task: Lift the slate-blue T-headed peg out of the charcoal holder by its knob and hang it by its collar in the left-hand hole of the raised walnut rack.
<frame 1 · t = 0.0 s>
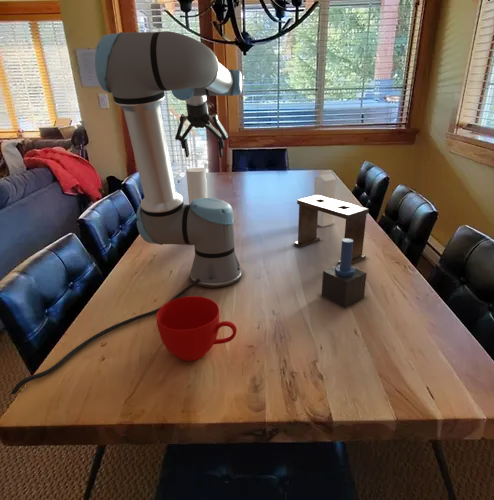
hand: (204, 155, 148), 28 cm above the table, tool tilted 20°, fingers open, 13 cm apart
cylindrical container: (200, 233, 147), on the table
milk: (322, 224, 156), on the table
rack: (328, 251, 129), on the table
holder: (342, 296, 101), on the table
ceramic cup: (200, 353, 81), on the table
peg: (344, 272, 98), point 7 cm above the table, touching holder
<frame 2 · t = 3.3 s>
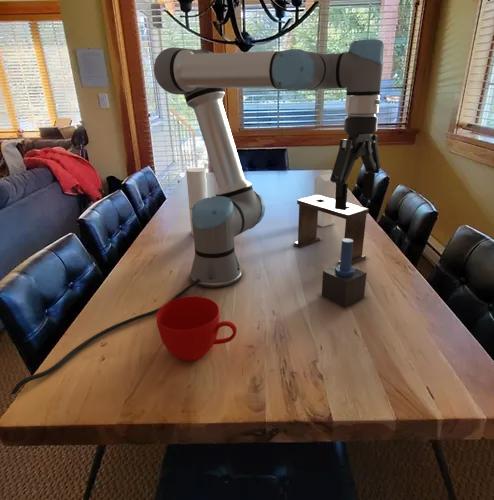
hand: (354, 203, 96), 25 cm above the table, tool pointing down, fingers open, 13 cm apart
nothing on the table moved.
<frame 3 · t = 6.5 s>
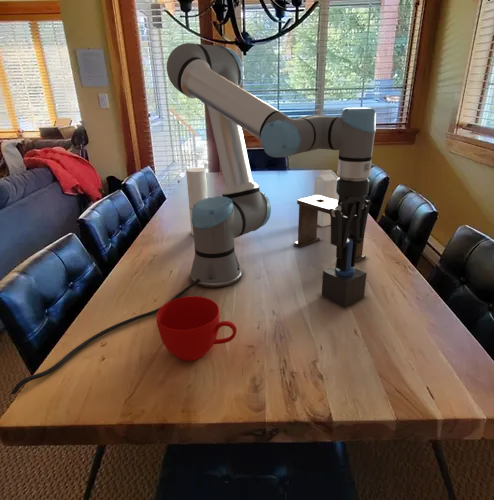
hand: (345, 266, 98), 9 cm above the table, tool pointing down, fingers closed on peg, 3 cm apart
peg: (344, 272, 98), point 8 cm above the table, touching gripper
everything else where it was.
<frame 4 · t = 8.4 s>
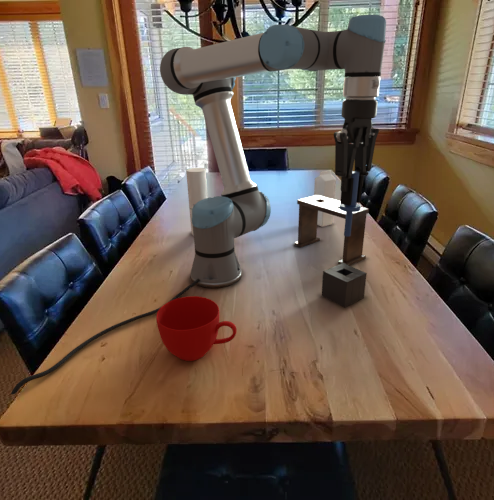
hand: (350, 202, 91), 26 cm above the table, tool pointing down, fingers closed on peg, 3 cm apart
peg: (349, 208, 91), point 25 cm above the table, touching gripper
everything else where it was.
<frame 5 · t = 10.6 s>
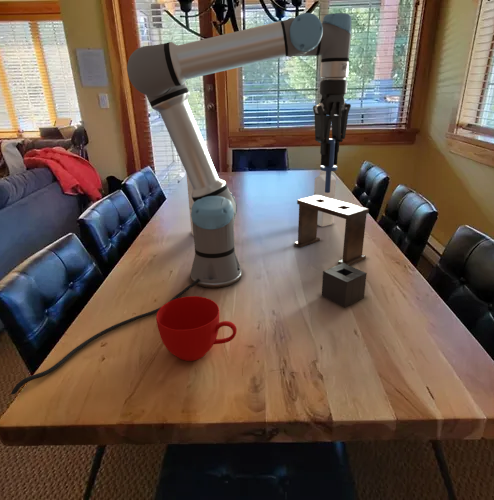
hand: (328, 164, 113), 31 cm above the table, tool pointing down, fingers closed on peg, 3 cm apart
peg: (328, 169, 114), point 29 cm above the table, touching gripper
everything else where it was.
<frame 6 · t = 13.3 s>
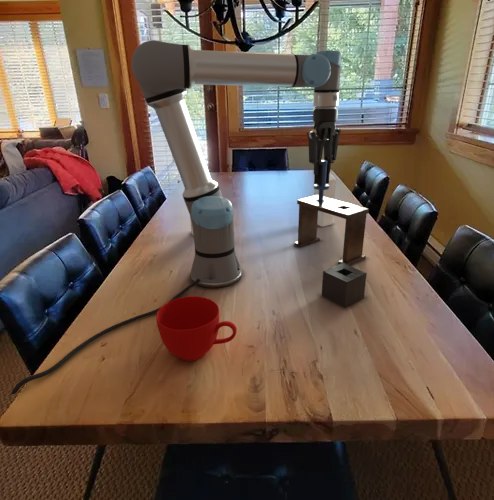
hand: (321, 183, 124), 23 cm above the table, tool pointing down, fingers closed on peg, 3 cm apart
peg: (321, 188, 124), point 21 cm above the table, touching gripper
everything else where it was.
when the fingers open (18 cm above the table, at t = 14.8 s): peg stays where it is, resting on rack.
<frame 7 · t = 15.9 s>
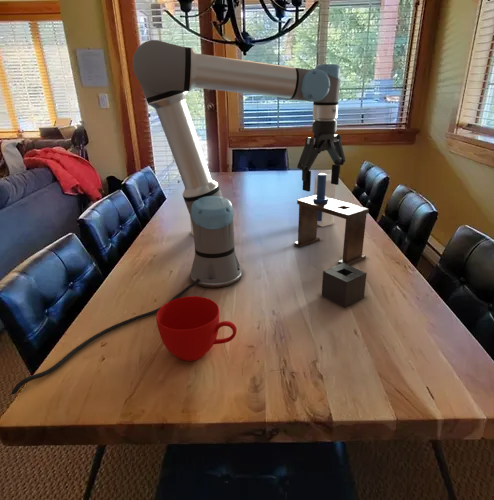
hand: (320, 187, 124), 22 cm above the table, tool pointing down, fingers open, 13 cm apart
peg: (320, 200, 126), point 17 cm above the table, touching rack
everything else where it was.
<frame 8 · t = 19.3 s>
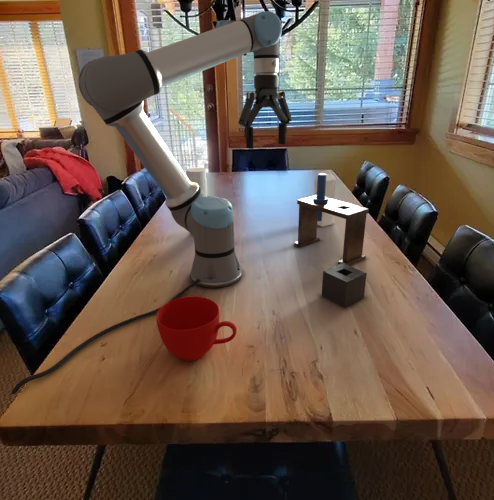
hand: (266, 146, 122), 35 cm above the table, tool pointing down, fingers open, 13 cm apart
nothing on the table moved.
at the end: peg 0.1 cm from the target spot on the rack, point 17.0 cm above the rack's base; peg tilted 0°; the gripper is holding nothing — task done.
